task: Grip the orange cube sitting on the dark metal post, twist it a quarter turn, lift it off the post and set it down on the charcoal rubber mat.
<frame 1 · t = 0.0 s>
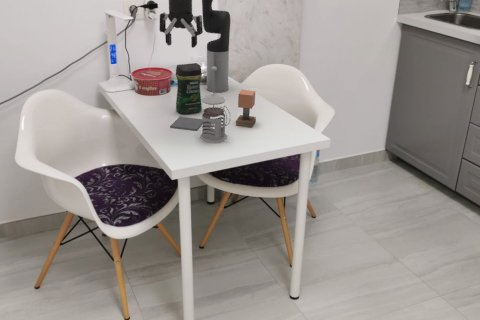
hand: (181, 46, 179), 29 cm above the table, tool pointing down, fingers open, 8 cm apart
coffee jar: (189, 111, 207), on the table
french press: (215, 138, 184), on the table
mat: (187, 124, 194), on the table
post stand: (245, 123, 196), on the table
orange cube: (246, 105, 193), point 7 cm above the table, touching post stand
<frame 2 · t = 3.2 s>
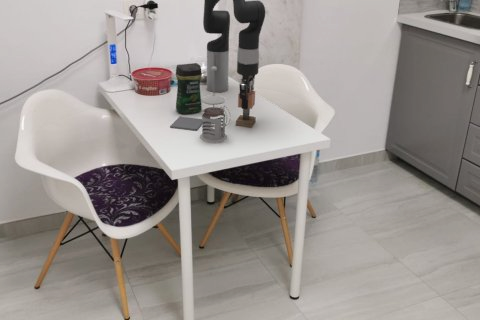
hand: (246, 106, 193), 7 cm above the table, tool pointing down, fingers closed on orange cube, 5 cm apart
orange cube: (246, 105, 193), point 7 cm above the table, touching gripper, post stand
everything else where it was.
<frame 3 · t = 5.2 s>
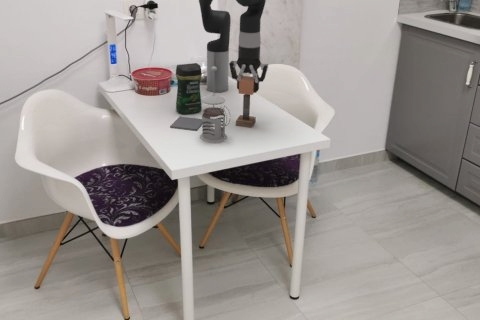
hand: (247, 91, 191), 13 cm above the table, tool pointing down, fingers closed on orange cube, 5 cm apart
orange cube: (247, 91, 191), point 12 cm above the table, touching gripper
everything else where it was.
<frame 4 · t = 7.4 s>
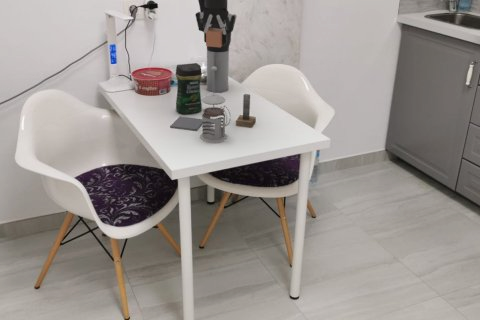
hand: (215, 44, 182), 29 cm above the table, tool pointing down, fingers closed on orange cube, 5 cm apart
orange cube: (215, 44, 182), point 29 cm above the table, touching gripper
everything else where it was.
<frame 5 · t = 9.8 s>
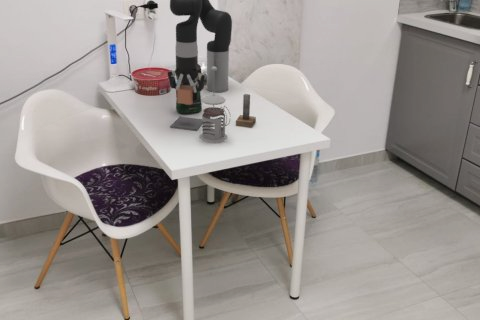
hand: (187, 100, 190), 9 cm above the table, tool pointing down, fingers closed on orange cube, 5 cm apart
orange cube: (186, 101, 190), point 9 cm above the table, touching gripper
everything else where it was.
when the fingers open (2 cm above the table, at t = 11.7 s): orange cube drops 2 cm, resting on mat.
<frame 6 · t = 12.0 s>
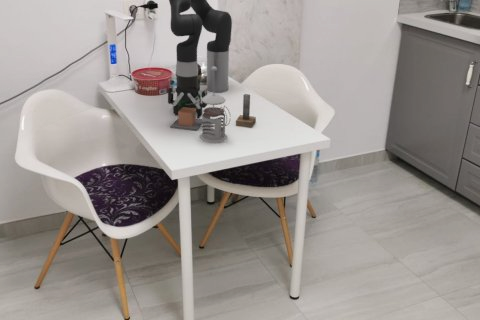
hand: (187, 116, 193), 3 cm above the table, tool pointing down, fingers open, 8 cm apart
orange cube: (187, 123, 194), point 1 cm above the table, touching mat
everything else where it was.
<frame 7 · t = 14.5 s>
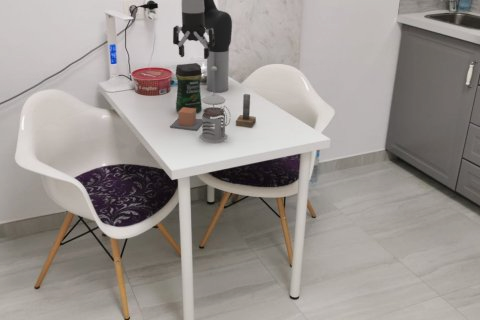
hand: (194, 57, 186), 24 cm above the table, tool pointing down, fingers open, 8 cm apart
nothing on the table moved.
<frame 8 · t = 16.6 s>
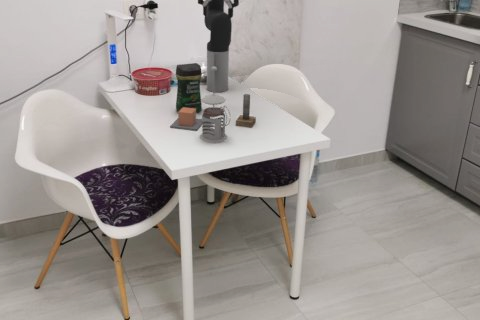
hand: (218, 17, 189), 36 cm above the table, tool pointing down, fingers open, 8 cm apart
nothing on the table moved.
at the end: orange cube inside the target area on the mat (0.5 cm from its centre), point 0.6 cm above the mat's base; orange cube tilted 0°; orange cube touching mat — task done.
